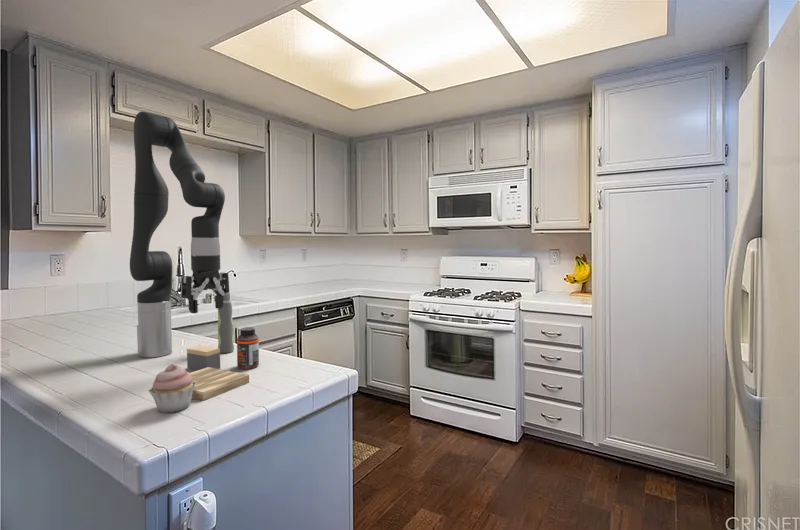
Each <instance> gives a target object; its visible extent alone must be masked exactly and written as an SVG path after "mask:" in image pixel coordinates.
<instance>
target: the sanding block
mask: <svg viewBox="0 0 800 530" xmlns="http://www.w3.org/2000/svg"><path fill="white" fill-rule="evenodd" d="M186 364H187V367H186V368H187V370H191V371H194V372H195V371H198V370H201V369H204V368H207V367H210V368H216V369H221V353H220V348H218V347H214V346H207V345H202V344H201V345H197V346H196V345H195V346H193V347H189V348H187V349H186Z"/></svg>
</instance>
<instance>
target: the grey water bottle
mask: <svg viewBox="0 0 800 530" xmlns="http://www.w3.org/2000/svg"><path fill="white" fill-rule="evenodd" d="M232 299H233V298H232V293H231V292H230V291H229V292H228V293H225V294H224V296H223V303H224V304H223V308H221V309H218V308H217V333H218V335H217V336H218V337H217V341H218V343H217V348H220V354H228V353H229V354H230V353H232V352H234V350H235V346H234V325H233V300H232Z"/></svg>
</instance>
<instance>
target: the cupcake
mask: <svg viewBox="0 0 800 530" xmlns="http://www.w3.org/2000/svg"><path fill="white" fill-rule="evenodd" d="M190 373H191V372H189V371H186V369H185V368H184V367H183V366H182V365H179V364H177V363H176V364H175V363H171V364H169V365H168V366H167V367H165V369H164V370H162V371H160V372H159V373H158V374H157V375H156V377H155V379H154V381H153V384H152V386H151V389H148V390H147V392H149V393H150V395H151V396H152V398H153V400H154V403H155V406H156V409H157V411H158V412H160V413H167V414H168V413H176V412H180V411H183V410H185V409H187V408H188V407H189V406H190V405H191V401H192V398H191V397H192V393H193V390H194V387H195V385H196V383H197V382H193V381H192V377H191V375H190Z"/></svg>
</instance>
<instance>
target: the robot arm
mask: <svg viewBox="0 0 800 530" xmlns="http://www.w3.org/2000/svg"><path fill="white" fill-rule="evenodd" d="M133 142H134V143H133V144H134V145H133V146H134V158H135V159H134V162H135V168H134V169H135V173H134V187H133V188H134V190H133V231H132V239H131V248H130V255H129V256H130V258H129V272H130V275H131V277H132V279H133V280H134V281H137V282H145V281H153V282H152V284H151V285H150V286H149V287H147V288H146V289H144V290H141V291H140V292H139V293H137V295H136V296H137V297H136V301H137V323H138V324H137V325H136V335H137V340H136V341H137V355H139V357H141V358H158V357H163V356H167V355H170V354H172V352H173V337H172V336H173V334H172V333H173V332H172V330H173V329H172V308H171V307H172V302H171V296H172V291H173V261H172V258H171V255H170V254H169V253H168V252H167V251H164V250H155V251H154V250H153V251H152V250H151V251H150V244H151V239H152V237H153V234H154V233H155V231H156V230H157V228H158V227H159V226H160V225H161V223H162V222H163V221H164V219H165V217H166V215H167V214H168V210H169V198H170V197H169V194H170V193H169V187H168V185H167V183H166V181H165V179H164V178H163V176H162V174H161V172H160V171H159V169H158V167H157V165H156V163H155V160H154V156H153V147H152V146H157V147H163V148H167V149H168V150H170V152H171V154H170V157H169V162H168V163H169V168H170V170H171V172H172V174H173V175H174V176H175V179H177V181H178V182H179V184H180V188H181V192H182V197H183V201H184V202H185V203H187V205H189V206H191V207H192V208H193V207H194V208H202V209H203V208H205V209H206V210H205V212H204V214H203V215H199V216H194V217H192V219H191V225H190V226H191V240H190V269H191V271H192V275H191V276H189V275H182V277H181V290H180V291H181V292H180V297H181V298H183V299H187V300H188V312H189V313H191V314H198V313H199V312H198V311H199V309H198V307H199V306H198V302H199V301H198V297H199V295H200V294H201V293H202V292H203V291H207V290H211V291H213V293H214V294H215V296H214V300H215V301H214V306H215V307H214V308H215V309H217V310H218V309H221V308H223V304H224V303H223V296H224V294H225V293H228V292H230V281H229V273H228V272H219V271H220V270H221V245H220V228H219V227H220V226H219V224H220V220H221V215H222V212H223V209H224V205H225V200H226V196H225V190H224V189H223V187H222V186H221V185H220V184H218V183H213V182H206V174H205V172H204V171H203V170H202V168H201V166H200V165H199V164H198V163H197V162H196V160H195V159H194V157H193V155H192V154H191V152H190V150H189V147H188V146H187V144H186V141H185V139H184V137H183V134H182V132H181V130H180V128H179V126H178V124H177V123H176V121H175V120H173V118H170V117H168V116H164V115H160V114H156V113H152V112H148V111H139V112H138V113H137V114H136V116H135V118H134V121H133Z"/></svg>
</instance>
